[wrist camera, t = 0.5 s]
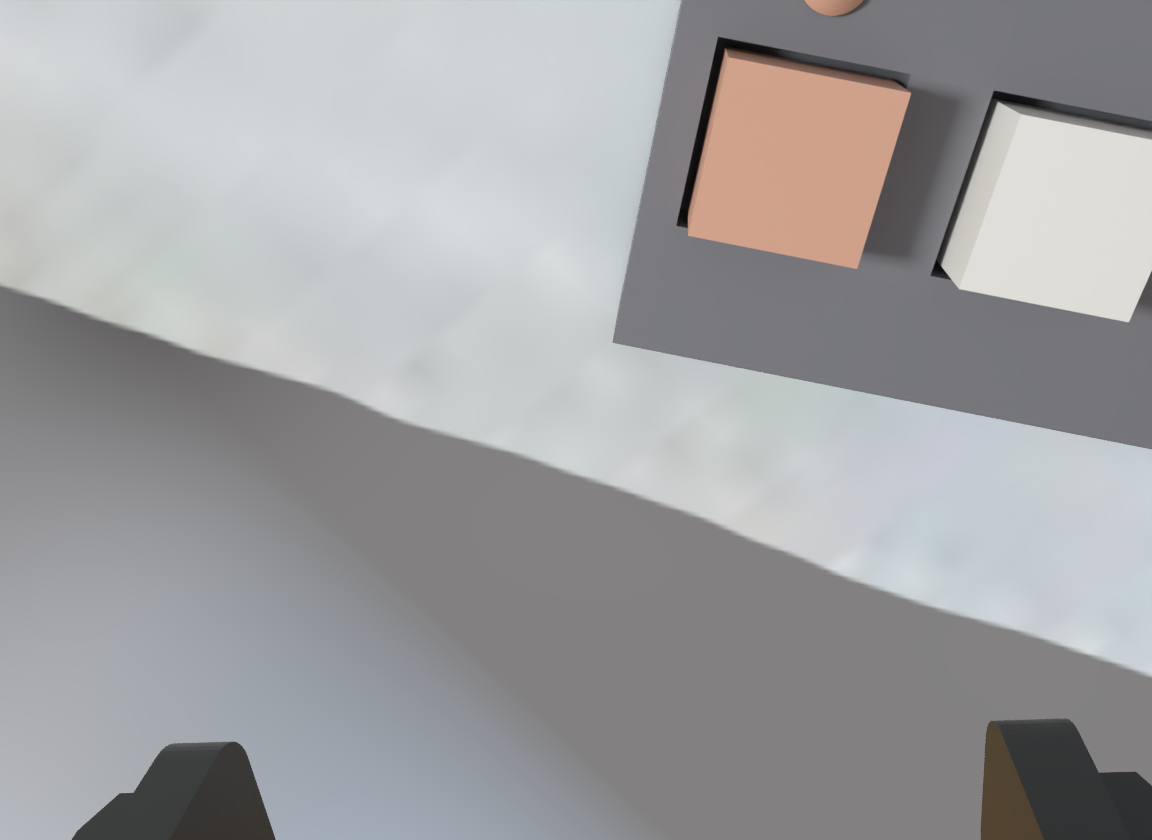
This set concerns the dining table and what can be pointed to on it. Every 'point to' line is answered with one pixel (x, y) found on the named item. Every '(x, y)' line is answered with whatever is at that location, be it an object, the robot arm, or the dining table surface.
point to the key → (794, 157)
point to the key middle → (1054, 212)
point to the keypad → (899, 214)
